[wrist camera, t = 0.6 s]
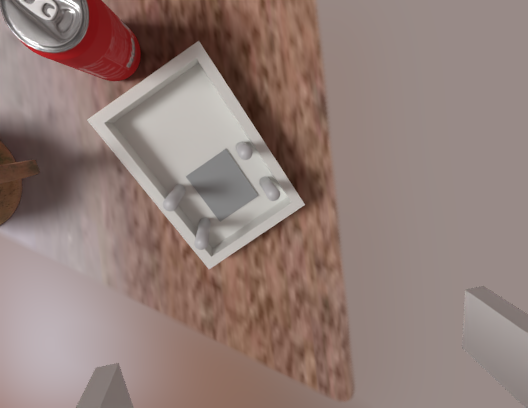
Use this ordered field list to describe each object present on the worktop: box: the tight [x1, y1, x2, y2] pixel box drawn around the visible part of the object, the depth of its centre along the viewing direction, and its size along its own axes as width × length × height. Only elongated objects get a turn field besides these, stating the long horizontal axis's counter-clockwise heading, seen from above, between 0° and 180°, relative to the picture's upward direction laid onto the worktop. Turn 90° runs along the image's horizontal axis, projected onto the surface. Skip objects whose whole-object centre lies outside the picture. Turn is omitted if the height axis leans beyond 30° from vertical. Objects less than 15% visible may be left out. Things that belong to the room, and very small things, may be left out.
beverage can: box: [0, 0, 141, 81], centre depth 23 cm, size 5×5×12 cm
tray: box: [87, 41, 305, 269], centre depth 29 cm, size 18×12×7 cm, turn 33°
